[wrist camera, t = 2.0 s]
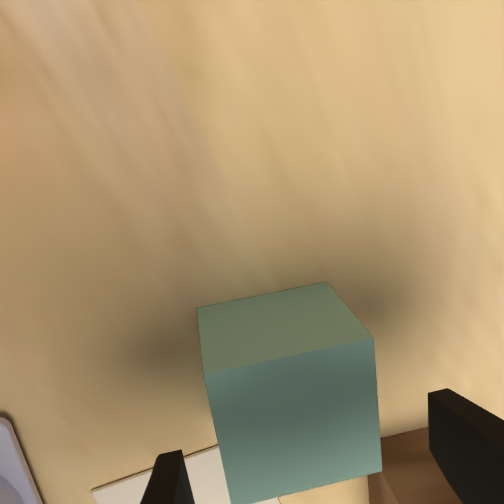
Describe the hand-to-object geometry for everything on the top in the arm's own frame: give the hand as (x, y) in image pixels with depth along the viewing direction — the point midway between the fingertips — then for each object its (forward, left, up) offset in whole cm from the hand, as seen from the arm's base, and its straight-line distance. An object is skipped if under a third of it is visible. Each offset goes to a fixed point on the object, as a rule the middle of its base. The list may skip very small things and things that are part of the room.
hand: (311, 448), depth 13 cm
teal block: (0, 0, -6) cm, 6 cm away
